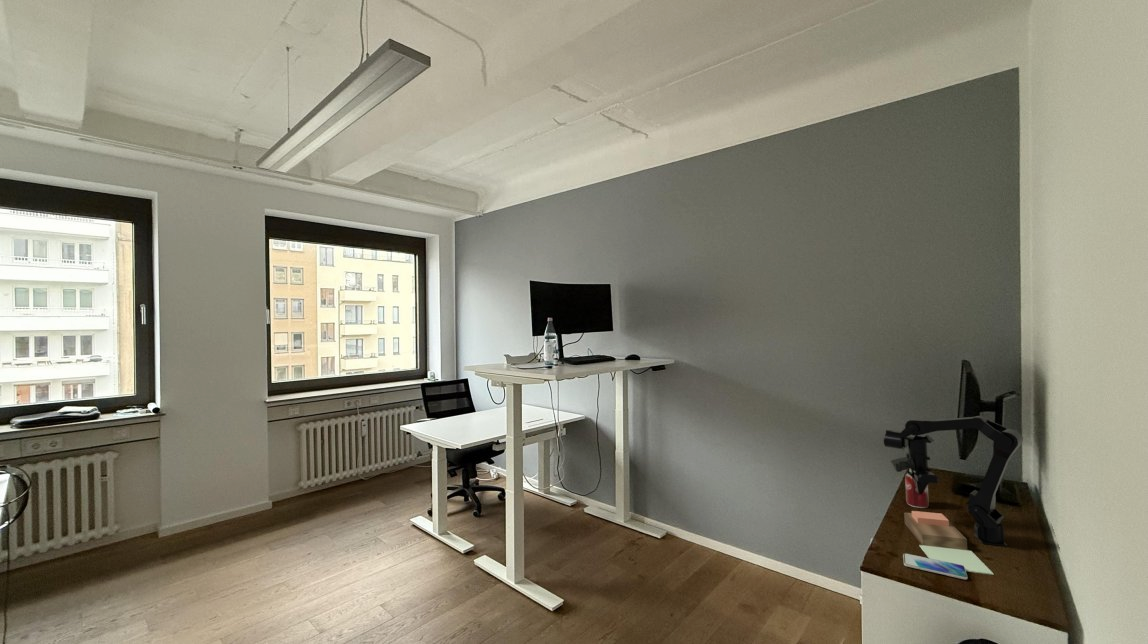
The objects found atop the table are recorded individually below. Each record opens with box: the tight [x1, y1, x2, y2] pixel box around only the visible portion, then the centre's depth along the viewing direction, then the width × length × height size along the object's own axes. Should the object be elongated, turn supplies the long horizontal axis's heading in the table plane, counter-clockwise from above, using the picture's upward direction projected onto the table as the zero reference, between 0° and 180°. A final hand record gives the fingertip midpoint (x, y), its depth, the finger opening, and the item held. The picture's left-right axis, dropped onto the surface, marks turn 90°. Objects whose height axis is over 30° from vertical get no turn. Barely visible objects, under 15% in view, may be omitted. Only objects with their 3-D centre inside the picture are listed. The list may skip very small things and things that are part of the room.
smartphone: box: [902, 552, 968, 581], centre depth 136 cm, size 7×1×15 cm
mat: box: [919, 544, 995, 576], centre depth 141 cm, size 14×14×1 cm
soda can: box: [904, 472, 930, 509], centre depth 181 cm, size 7×7×12 cm
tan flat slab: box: [903, 512, 968, 550], centre depth 156 cm, size 12×18×4 cm, turn 159°
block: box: [911, 510, 950, 526], centre depth 159 cm, size 9×6×2 cm, turn 69°
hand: (920, 493), depth 167 cm, fingers closed
